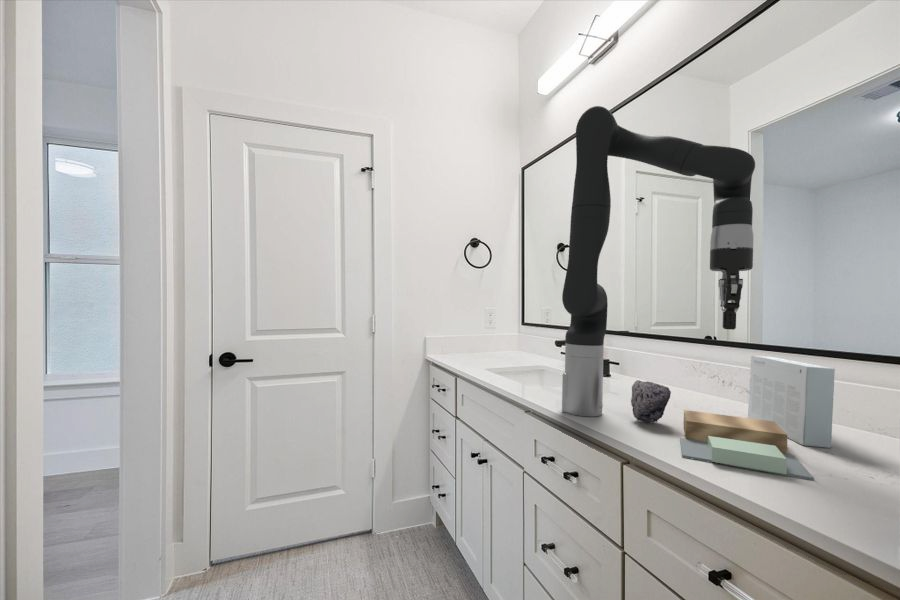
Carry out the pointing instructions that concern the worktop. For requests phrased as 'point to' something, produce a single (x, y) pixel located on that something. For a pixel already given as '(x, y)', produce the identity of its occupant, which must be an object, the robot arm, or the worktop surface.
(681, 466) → the worktop surface
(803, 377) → the skincare box
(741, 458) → the soap bar
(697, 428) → the light wood block
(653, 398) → the pumice stone
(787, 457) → the mat
